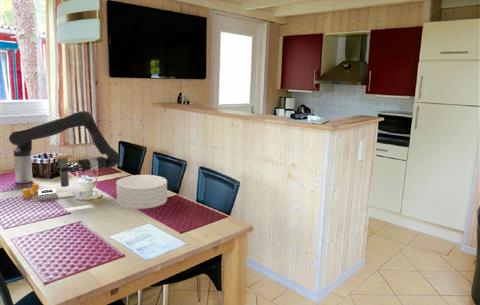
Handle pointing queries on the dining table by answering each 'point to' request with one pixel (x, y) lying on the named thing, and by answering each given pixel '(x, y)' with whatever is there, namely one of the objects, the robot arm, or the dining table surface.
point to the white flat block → (47, 194)
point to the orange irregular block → (30, 191)
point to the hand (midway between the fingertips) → (59, 169)
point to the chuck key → (63, 165)
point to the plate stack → (141, 191)
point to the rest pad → (65, 194)
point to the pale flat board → (36, 199)
